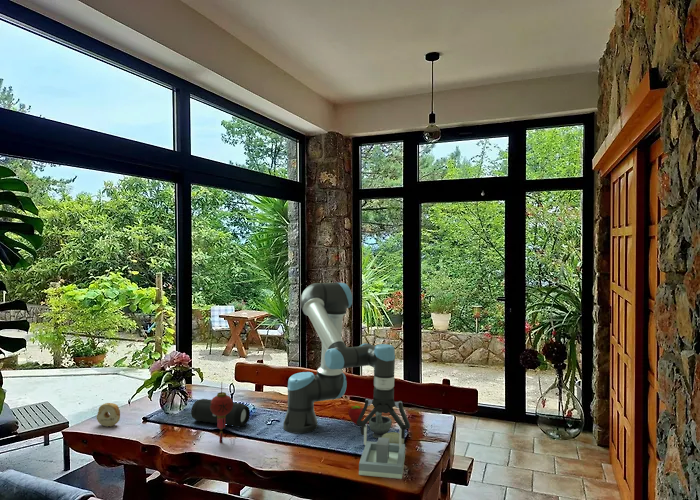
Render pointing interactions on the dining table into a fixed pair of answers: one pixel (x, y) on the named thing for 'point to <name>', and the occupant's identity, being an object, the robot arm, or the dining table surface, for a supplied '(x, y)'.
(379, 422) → the mortar and pestle
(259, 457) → the dining table surface
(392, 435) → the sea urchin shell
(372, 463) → the grey rectangular tray
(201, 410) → the portable speaker
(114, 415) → the stone disc
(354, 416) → the decorative fruit
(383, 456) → the grey upright block
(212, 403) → the lantern
